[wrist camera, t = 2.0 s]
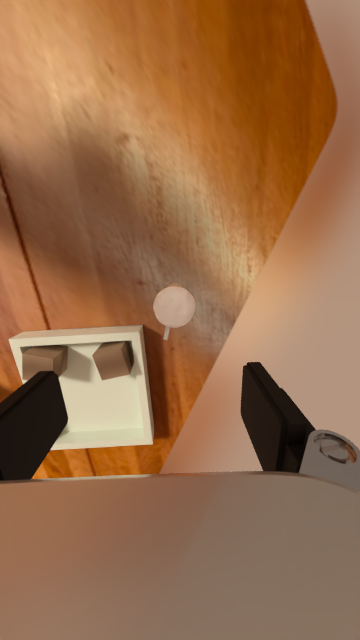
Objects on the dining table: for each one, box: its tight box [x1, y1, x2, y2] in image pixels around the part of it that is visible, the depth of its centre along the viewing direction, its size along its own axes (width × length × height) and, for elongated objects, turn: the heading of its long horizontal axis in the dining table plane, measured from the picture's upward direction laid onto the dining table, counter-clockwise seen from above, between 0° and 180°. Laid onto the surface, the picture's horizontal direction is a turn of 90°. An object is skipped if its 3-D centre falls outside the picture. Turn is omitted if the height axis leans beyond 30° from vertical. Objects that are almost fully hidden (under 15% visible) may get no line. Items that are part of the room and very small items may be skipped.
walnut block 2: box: [92, 341, 134, 380], centre depth 30 cm, size 4×4×4 cm
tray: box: [8, 325, 155, 450], centre depth 33 cm, size 20×18×3 cm
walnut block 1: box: [22, 345, 68, 380], centre depth 30 cm, size 4×4×4 cm
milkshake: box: [153, 283, 196, 340], centre depth 25 cm, size 5×5×10 cm
